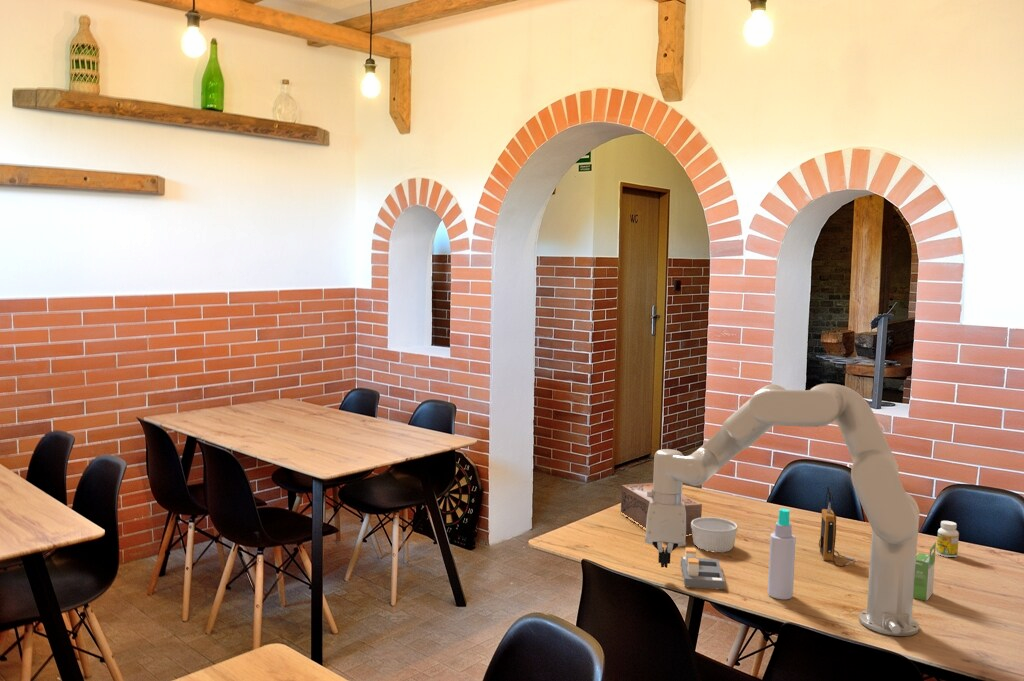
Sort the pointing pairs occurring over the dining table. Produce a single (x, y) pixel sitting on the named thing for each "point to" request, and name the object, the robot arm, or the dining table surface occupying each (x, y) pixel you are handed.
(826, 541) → the multimeter
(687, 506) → the tissue box cover
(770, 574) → the spray bottle
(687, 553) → the tab
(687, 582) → the switch board
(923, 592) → the ink box
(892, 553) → the robot arm
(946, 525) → the supplement bottle
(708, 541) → the ramekin
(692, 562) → the white upright block
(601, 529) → the dining table surface
